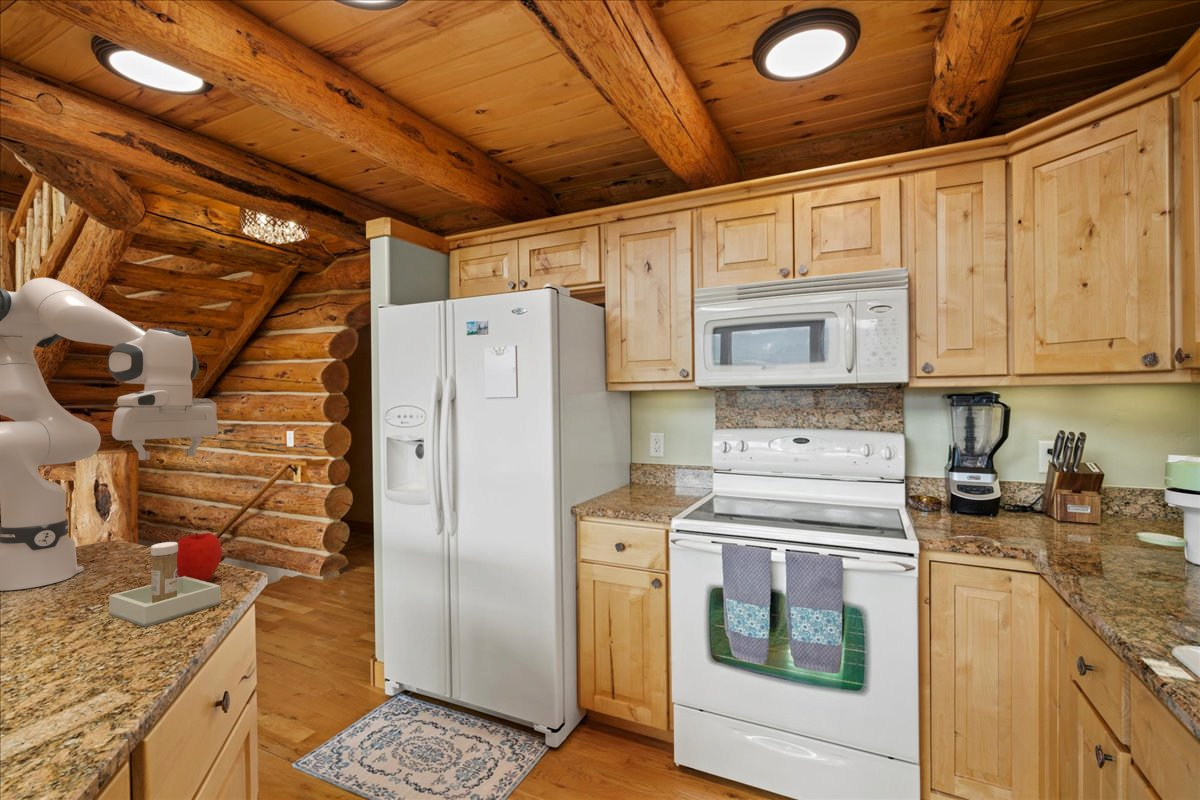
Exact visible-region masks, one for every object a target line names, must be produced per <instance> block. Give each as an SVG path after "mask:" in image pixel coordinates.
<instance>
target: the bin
mask: <svg viewBox="0 0 1200 800" xmlns="http://www.w3.org/2000/svg"><path fill="white" fill-rule="evenodd" d="M177 588H178V589H177V597H174V598H170V599H167V600H163V601H159V602H156V603H152V592H151V584H149V585H144V586H141V587H137V588H132V589H128V590H125V591H121V592H117V593H112V594H109V597H108V598H109V599H108V600H109V601H108V605H109V606H108V609H109V610H108V614H109V615H110V616H112V617H115V618H118V619H120V620H124V621H126V622H129V623H132V624H134V625H138V626H140V627H143V628H149V627H151V626H154V625H157V624H158V625H159V624H161V623H164V622H167V621H171V620H173V619H177V618H180V617H183V616H186V615H189V614H193V613H197V612H199V611H203V610H205V609H210V608H212V607H216V606H219V605H221V604H222V603H221V600H222V599H221V596H222V595H221V593H222V591H221V590H222V586H221V585H219V584H215V583H212V582H208V581H206V582H205V581H201V580H197V579H193V578H189V577H186V576H183V577H179V576H178V577H177Z"/></svg>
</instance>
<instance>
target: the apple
mask: <svg viewBox="0 0 1200 800" xmlns="http://www.w3.org/2000/svg"><path fill="white" fill-rule="evenodd" d="M176 543H178V552H177V577H178V578H179V577H183V576H186V577H189V578H193V579H197V580H201V581H205V582H208V581H209V580H210V579H211V578H212V576H214V574H215V572H216V571H217V569H218V567H219V565H220V562H221V560H222V554H223V549H222V544H221V541H220V539H219V538H218V536H217V535H215V534H213V533H210V532H203V533H198V532H196V533H195V534H192V535H187V536H183V537H181V538H180V539H179V540H178V541H177V542H176Z"/></svg>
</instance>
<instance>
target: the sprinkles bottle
mask: <svg viewBox="0 0 1200 800" xmlns="http://www.w3.org/2000/svg"><path fill="white" fill-rule="evenodd" d="M177 552H178V543H177V542H176V541H166V542H161V543H160V542H159V543H155V544H153V545H151V546H150V557H151V571H150V573H151V577H150V578H151V580H150V581H151V584H150V585H151V592H152V603H156V602H159V601H163V600H167V599H170V598H174V597H177V589H178V588H177V578H178V574H177Z"/></svg>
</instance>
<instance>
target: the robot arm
mask: <svg viewBox="0 0 1200 800" xmlns="http://www.w3.org/2000/svg"><path fill="white" fill-rule="evenodd" d="M64 339H67V340H71V341H74V342H80V343H87V344H97V345H103V346H110V347H112V349H110V351H109V353H108V355H107V358H106V366H107V367H106V368H107V370H108V372H109V374H110V376H112V378H113V379H114V380H116V381H117V382H120V383H124V384H125V383H126V384H137V385H144V390H140V391H136V392H132V393H128V394H123V395H121V396H118V397H117V401H116V402H117V405H118V406H120V407H118V408H116V410H115V411H114V414H113V418H112V425H111V435H112V438H113V439H115V440H116V441H132V446H133V447H134V449H135V450H136V451H137V452H138V460H139V461H147V460H150V459H151V451H147V450H146V449H145V448H144V447H143V445H145V442H146V440H160V439H178V438H179V439H180V438H190V439H189V440H190V442H191V444H190V446H189V447H188V448H185V451H184V452H185V453H184V454H185V456H186V457H196V455H197V449H198V447H199V446H200V444H201V443H202V442H203V441H202V439H203V437H215V436H216V435H217V433H218V432H219V426H218V425H219V424H218V417H217V412H218V411H217V410H218V409H217V407H218V406H217V403H216V402H215V401H214V400H211V399H210V398H197V397H196V398H193V382H192V381H193V380H194V379H195V378H196V376H197V375H198V372H199V369H200V368H199V367H200V366H199V365H200V364H199V360H198V358H197V356H196V355H195V353H194V351H193V349H192V348H193V346H192V341H191V338H190V336H189V335H188V334H187V333H186V332H184V331H181V330H176V329H169V328H164V327H152V328H148V329H147V330H146V329H144V328H143V327H141V326H139V325H137V324H135V323H133V322H131V321H129V320H128V319H126V318H123V317H122V316H120V315H118V314H116V313H115V312H113V311H111V310H109V309H107V308H106V307H105V306H103V305H102V304H100V303H98V302H97V301H95V300H94V299H92V298H90V297H88V296H87V295H86V294H84V293H83V292H82V291H80V290H78V289H76V288H75V287H73V286H72V285H69V284H67V283H65V282H62V281H60V280H57V279H54V278H50V277H37V278H33V279H30V280H28V281H26V282H25V283H24V284H23V285H22V286H21V287H20V289H19V290H18V291H17V290H16V291H8V290H4V289H3V287H0V416H3V417H7V418H10V419H11V420H13V421H0V521H1V522H0V591H1V592H4V591H16V590H18V591H19V590H24V589H32V588H36V587H37V588H38V587H43V586H47V585H52V584H54V583H55V584H56V583H59V582H63V581H65V580H67V579H70V578H73V577H74V576H75V575H77V574H79V573H82V572H84V571H85V568H84V566H81V565H78V562H77V561H78V560H77V550H76V549H77V547H76V541H75V540H74V539H73V538H71V537H69V536H68V535H67V534H68V533H69V528H70V525H69V519H67V518H66V517H67V516H66V515H67V513H66V512H67V511H66V510H67V492H66V491H65V488H64V487H62V486H61V484H59V483H57V482H54V481H51V480H47V479H44V478H43V477H42V475H41V473H40V471H39V466H50V465H60V464H70V463H74V462H79V461H82V460H85V459H88V458H91V457H93V456H94V455H95V454H96V453H97V451H98V450H99V448H100V446H101V443H102V442H101V441H102V439H101V435H100V431H99V430H98V428H96V427H95V425H93V424H92V423H90V422H88V421H85V420H83V419H80V418H78V417H77V416H75V415H73V414H71V413H70V412H69V411H68V410H66V409H65V408H64V407H62V405H60V403H58V402H57V401H56V400H55V398H54V397H53V396H52V394H51V393H50V390H49V388H48V386H47V384H46V382H45V380H44V377H43V375H42V372H41V369H40V368H39V364H38V362H37V360H36V359H35V355H34V351H35V347H37V348H44V349H45V348H49V347H51V346H52V345H53V343H58V342H60V341H62V340H64Z"/></svg>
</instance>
